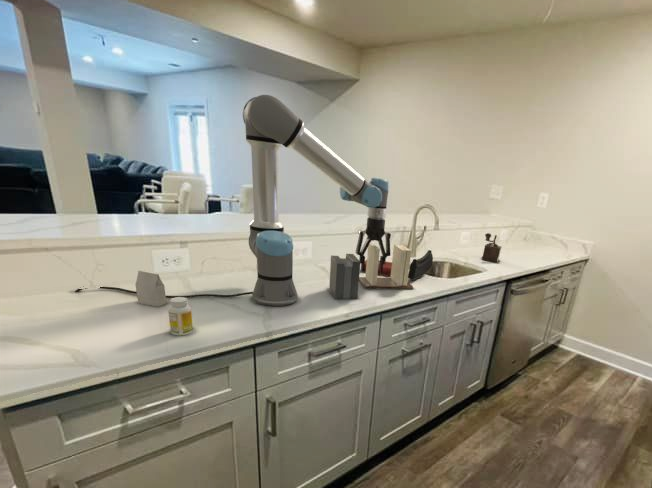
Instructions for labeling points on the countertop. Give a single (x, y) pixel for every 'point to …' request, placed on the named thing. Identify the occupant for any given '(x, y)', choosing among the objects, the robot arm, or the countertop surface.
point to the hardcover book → (386, 268)
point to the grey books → (344, 277)
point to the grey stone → (150, 289)
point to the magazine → (420, 266)
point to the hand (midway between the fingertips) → (371, 270)
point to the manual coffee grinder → (491, 250)
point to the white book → (372, 264)
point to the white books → (400, 265)
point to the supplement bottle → (180, 316)
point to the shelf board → (383, 284)
